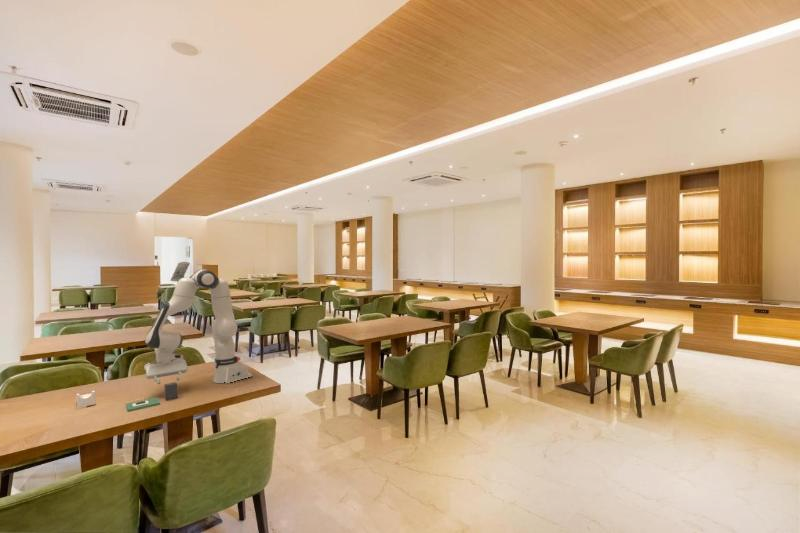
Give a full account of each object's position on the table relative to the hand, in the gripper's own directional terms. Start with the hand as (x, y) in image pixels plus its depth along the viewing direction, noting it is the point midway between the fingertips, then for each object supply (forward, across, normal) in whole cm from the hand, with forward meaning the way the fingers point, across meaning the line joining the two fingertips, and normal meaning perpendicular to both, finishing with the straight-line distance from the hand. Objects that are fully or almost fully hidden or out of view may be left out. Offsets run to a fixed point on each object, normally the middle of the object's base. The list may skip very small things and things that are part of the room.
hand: (168, 381), depth 211 cm
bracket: (-7, -36, +20) cm, 42 cm away
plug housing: (+9, 0, +3) cm, 9 cm away
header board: (+9, -13, +3) cm, 16 cm away
